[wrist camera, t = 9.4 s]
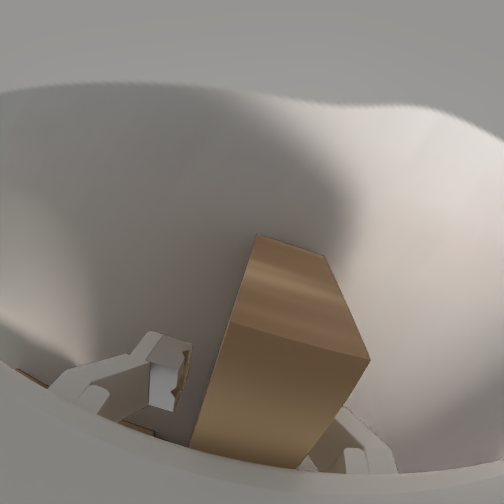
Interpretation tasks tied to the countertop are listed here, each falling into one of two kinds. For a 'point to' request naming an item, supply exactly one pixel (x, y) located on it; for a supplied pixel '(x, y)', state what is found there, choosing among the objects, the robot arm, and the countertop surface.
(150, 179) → the countertop surface
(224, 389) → the stool leg
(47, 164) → the countertop surface
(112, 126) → the countertop surface
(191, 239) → the countertop surface
